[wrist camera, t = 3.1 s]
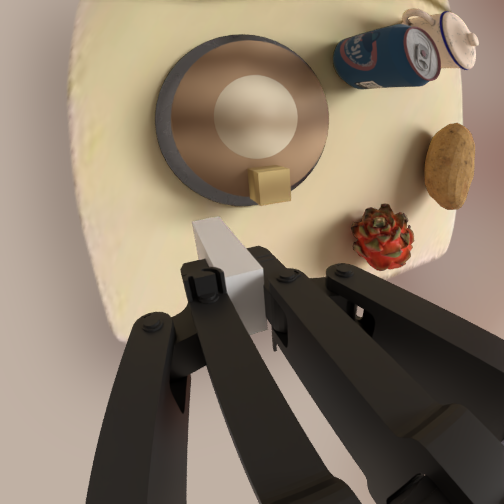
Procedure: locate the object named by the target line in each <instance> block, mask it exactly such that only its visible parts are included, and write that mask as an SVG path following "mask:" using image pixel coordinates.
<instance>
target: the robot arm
mask: <svg viewBox="0 0 504 504" xmlns="http://www.w3.org/2000/svg"><path fill="white" fill-rule="evenodd" d="M192 225H193V231H194V236H195V242H196V248H197V253H198V259H199V260H197V261H193V262H188V263H184V264H183V266H182V268H181V269H180V270H181V275H182V279H183V283H184V288H185V292H186V296H187V300H188V304H187V306H186V308H185V309H184V310H183V311H182V312H181V313H179V314H177V315H176V316H173V317H170V316H169V314H166V313H164V312H153V313H148V314H146V315H144V316H142V317H140V318H139V319H138V320H136V322H135V323H134V325H133V327H132V330H131V333H130V336H129V339H128V341H127V344H126V347H125V350H124V353H123V356H122V359H121V362H120V365H119V368H118V372H117V375H116V378H115V381H114V384H113V388H112V391H111V394H110V398H109V402H108V405H107V408H106V412H105V416H104V419H103V423H102V427H101V431H100V435H99V439H98V444H97V448H96V452H95V456H94V461H93V466H92V471H91V476H90V481H89V486H88V492H87V498H86V504H186V485H187V484H186V483H187V482H186V481H187V479H186V478H187V444H188V443H187V442H188V421H189V401H190V387H191V375H190V374H191V373H193V372H195V371H197V370H198V369H200V368H202V367H204V366H207V369H208V372H209V376H210V379H211V382H212V385H213V387H214V391H215V394H216V396H217V399H218V402H219V405H220V408H221V411H222V414H223V416H224V419H225V422H226V424H227V427H228V430H229V433H230V435H231V438H232V440H233V443H234V446H235V448H236V450H237V453H238V455H239V458H240V460H241V463H242V465H243V468H244V470H245V473H246V475H247V477H248V480H249V482H250V484H251V486H252V489H253V491H254V493H255V495H256V497H257V500H258V502H259V504H362V503H361V502H360V501H359V499H358V498H357V496H356V495H355V493H354V492H353V491H352V490H351V488H350V487H349V486H348V485H347V484H346V483H345V482H344V481H342V480H341V479H339V478H336V477H334V476H333V475H332V474H331V473H330V472H329V470H328V469H327V467H326V466H325V465H324V463H323V461H322V460H321V458H320V456H319V455H318V453H317V452H316V450H315V448H314V447H313V445H312V443H311V442H310V440H309V439H308V437H307V435H306V434H305V432H304V430H303V429H302V427H301V425H300V424H299V422H298V421H297V418H296V417H295V415H294V413H293V412H292V410H291V408H290V407H289V405H288V403H287V401H286V400H285V398H284V396H283V394H282V393H281V391H280V389H279V388H278V386H277V384H276V382H275V381H274V379H273V377H272V375H271V374H270V372H269V370H268V368H267V366H266V364H265V363H264V361H263V359H262V358H261V355H260V354H259V352H258V350H257V348H256V346H255V344H254V343H253V341H252V339H251V337H250V335H252V334H255V333H258V332H262V331H265V330H267V328H268V327H267V319H268V321H269V322H270V324H271V325H272V342H273V350H274V351H277V348H276V345H277V344H278V346H279V347H280V349H281V351H282V352H283V354H284V355H285V357H286V359H287V360H288V362H289V363H290V365H291V366H292V368H293V369H294V371H295V372H296V374H297V375H298V377H299V379H300V380H301V382H302V383H303V385H304V386H305V388H306V389H307V391H308V392H309V394H310V395H311V397H312V398H313V400H314V401H315V403H316V405H317V406H318V408H319V409H320V410H321V412H322V413H323V415H324V416H325V418H326V419H327V421H328V422H329V424H330V425H331V427H332V428H333V430H334V431H335V433H336V434H337V436H338V437H339V438H340V440H341V442H342V443H343V445H344V446H345V447H346V449H347V450H348V452H349V453H350V455H351V456H352V458H353V459H354V460H355V462H356V463H357V465H358V466H359V467H360V469H361V470H362V472H363V473H364V475H365V476H366V479H367V485H368V490H369V492H370V494H371V496H372V498H373V499H374V501H375V502H376V504H504V340H503V339H501V338H499V337H497V336H496V335H494V334H492V333H490V332H488V331H486V330H484V329H482V328H480V327H478V326H476V325H475V324H473V323H471V322H469V321H467V320H465V319H463V318H461V317H459V316H457V315H455V314H453V313H451V312H449V311H447V310H445V309H443V308H441V307H439V306H437V305H435V304H433V303H431V302H429V301H427V300H425V299H423V298H421V297H419V296H417V295H415V294H413V293H411V292H408V291H406V290H405V289H402V288H400V287H398V286H396V285H394V284H392V283H390V282H388V281H386V280H384V279H382V278H379V277H377V276H375V275H373V274H371V273H369V272H367V271H364V270H362V269H360V268H358V267H356V266H353V265H350V264H345V263H339V264H335V265H332V266H330V267H329V268H327V271H326V277H323V278H308V277H307V276H306V275H305V274H304V273H303V272H301V271H300V270H297V269H291V268H286V267H285V266H284V265H283V264H282V263H281V262H280V261H279V260H278V259H276V257H275V256H274V255H272V253H271V252H270V251H269V250H268V249H266V248H263V247H261V246H255V247H251V248H245V246H244V245H243V244H242V243H241V242H240V240H239V239H238V238H237V237H236V236H235V234H234V233H233V232H232V231H231V230H230V228H229V227H228V226H227V225H226V224H225V223H224V221H223V220H222V219H221V218H220V217H219V216H217V217H212V218H207V219H202V220H197V221H192ZM357 306H359V307H361V308H363V309H364V312H363V317H358V316H357V315H356V313H357ZM424 474H425V476H424Z"/></svg>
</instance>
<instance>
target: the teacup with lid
mask: <svg viewBox="0 0 504 504" xmlns="http://www.w3.org/2000/svg"><path fill="white" fill-rule="evenodd" d="M411 16H419V17H418V18H413V19H409V20H408V18H409V17H411ZM402 20H403V22H402V24H405V25H408V26H411V27H419V28H421V29H423V30H425V31H426V32H427V33H428V34H429V35H430V36H431V38H432V39H433V41H434V42H435V44H436V46H437V49H438V51H439V55H440V59H441V68H462V69H464V70H468V69H470V68H472V67H473V66H474V64H475V60H476V59H475V58H476V52H475V46H478V44H479V42H478V39H477V36H476V35H475V34H473V33H470V31H469V30H468V28H467V26H466V25H465V24H464V22H463V21H462V19H461V18H460V17H458V16H457V15H456V14H454V13H452V12H448V11H445V12H443V13H442V14H435V15H429V14H428V13H426V12H424V11H422V10H419V9H408V10H406V11H405V12H404V13H403V16H402Z"/></svg>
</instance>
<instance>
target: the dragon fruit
mask: <svg viewBox="0 0 504 504" xmlns="http://www.w3.org/2000/svg"><path fill="white" fill-rule="evenodd" d="M407 222H408V218H407V216H406V215H405V214H404V213H403V214H402V212H399V213H397V214H395V215H394V213H393V211H392V209H391V208H390V206H389V204H381V207H380V209H379V210H377V209H374V208H372V207H370V208H368V209H366V210H365V213H364V215H363V217H362V221H361V222H354V223H353V225H352V227H351V229H352V232H353V234H354V236H355V237H356V238H357V239H358V241H357V242H354V245H353V248H354V249H353V250H355V251H356V252H357V253H358V255H359V256H362V257H363V258H365V259H366V261H367V262H368V263H369V265H370V266H372V267H373V268H375V269H376V270H379V271H384V270H386V269H394V268H399V267H402V266H403V265H405V264H406V263H405V262H406V261H407V260H408V259H409V258H410V257H411V253H410V251H411V249H412V248H413V247H412V245H411V244H412V243H413V242H414V234H413V231H412V230H411V229H410V227H411V226H410V225H409V226H408V228H407Z"/></svg>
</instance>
